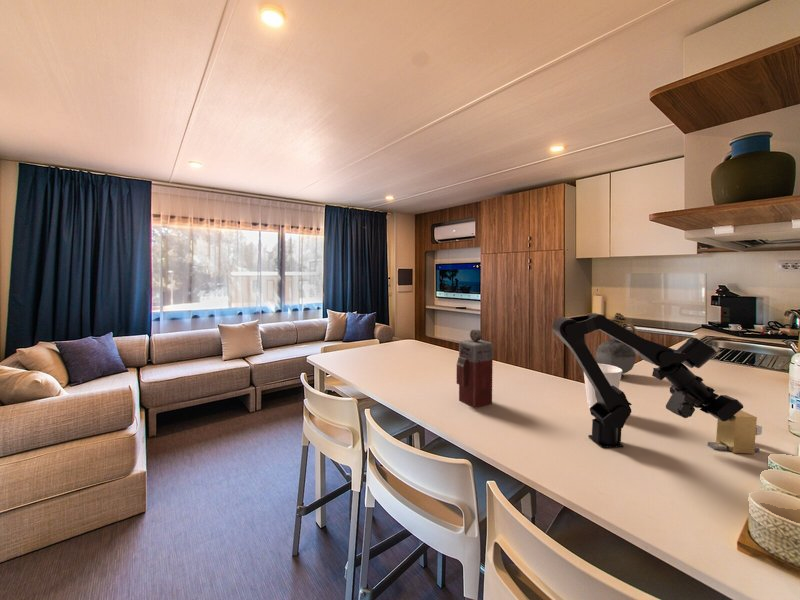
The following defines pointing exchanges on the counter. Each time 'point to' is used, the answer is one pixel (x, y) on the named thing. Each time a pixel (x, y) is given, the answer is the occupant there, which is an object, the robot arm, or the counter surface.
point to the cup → (611, 375)
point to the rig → (725, 447)
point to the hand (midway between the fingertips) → (725, 419)
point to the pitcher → (617, 349)
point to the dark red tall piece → (475, 371)
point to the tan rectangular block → (738, 432)
